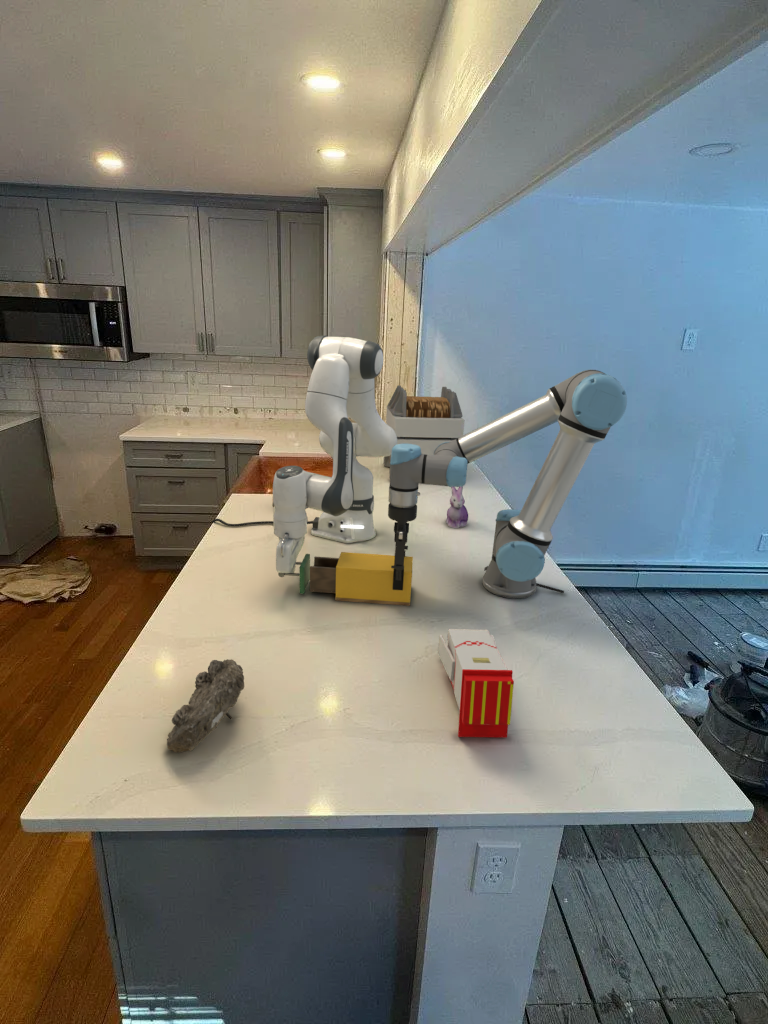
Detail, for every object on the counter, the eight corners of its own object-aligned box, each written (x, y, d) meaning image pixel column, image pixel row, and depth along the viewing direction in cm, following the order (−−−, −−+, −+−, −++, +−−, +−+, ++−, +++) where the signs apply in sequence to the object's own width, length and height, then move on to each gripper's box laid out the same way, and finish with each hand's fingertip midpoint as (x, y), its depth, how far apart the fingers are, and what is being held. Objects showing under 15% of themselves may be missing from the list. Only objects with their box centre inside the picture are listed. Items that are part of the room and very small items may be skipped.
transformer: (382, 463, 289) (386, 382, 275) (445, 464, 293) (451, 384, 279) (390, 482, 257) (394, 392, 243) (460, 483, 261) (468, 394, 247)
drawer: (278, 592, 154) (277, 565, 151) (285, 577, 162) (285, 552, 159) (368, 598, 153) (369, 571, 150) (371, 583, 161) (372, 558, 158)
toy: (488, 613, 130) (523, 677, 101) (484, 667, 133) (517, 744, 104) (435, 612, 130) (455, 676, 101) (432, 666, 133) (451, 743, 103)
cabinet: (335, 600, 153) (335, 567, 149) (340, 583, 162) (341, 551, 159) (409, 605, 152) (412, 572, 149) (410, 588, 161) (412, 556, 158)
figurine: (453, 530, 205) (457, 490, 200) (438, 521, 213) (441, 482, 208) (475, 527, 209) (479, 488, 204) (459, 517, 217) (462, 480, 212)
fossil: (192, 660, 117) (244, 628, 112) (224, 691, 120) (276, 661, 115) (142, 746, 98) (202, 712, 93) (182, 779, 101) (242, 748, 96)
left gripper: (294, 542, 142) (294, 591, 147) (308, 514, 161) (308, 558, 166) (269, 541, 142) (270, 590, 147) (286, 513, 161) (287, 557, 166)
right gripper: (416, 519, 137) (411, 601, 144) (417, 491, 158) (413, 563, 166) (385, 517, 137) (382, 599, 145) (391, 489, 158) (387, 562, 166)
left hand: (291, 573), depth 157 cm, fingers closed, pressing on drawer
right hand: (398, 580), depth 155 cm, fingers closed on cabinet, 10 cm apart
